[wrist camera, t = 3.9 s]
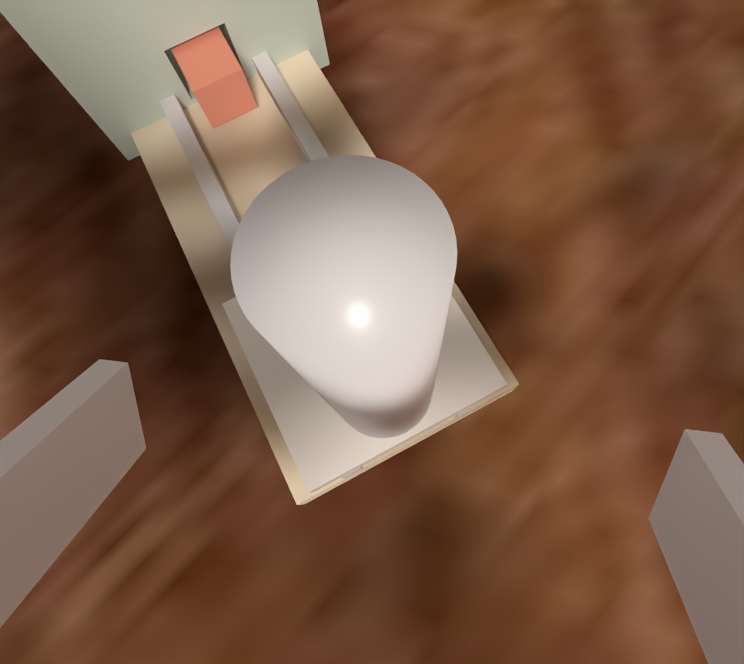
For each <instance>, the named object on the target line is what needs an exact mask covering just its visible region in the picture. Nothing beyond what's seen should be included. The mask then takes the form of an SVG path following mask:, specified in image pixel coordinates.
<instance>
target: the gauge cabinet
mask: <svg viewBox="0 0 744 664" xmlns="http://www.w3.org/2000/svg"><path fill="white" fill-rule="evenodd" d="M0 12H1V14H2V15H3V16H4V17H5V18H6V19H7V21H8V22H9V23H10V24H11V25H12V26H13V28H14V29H15V30H16V31H17V32H18V33H19V34H20V36H21V37H22V38H23V39H24V40H25V41H26V43H27V44H28V45H29V46H30V47H31V48H32V50H33V51H34V52H35V53H36V54H37V55H38V57H39V58H40V59H41V60H42V61H43V62H44V63H45V65H46V66H47V67H48V68H49V69H50V70H51V72H52V73H53V74H54V75H55V76H56V77H57V79H58V80H59V81H60V82H61V83H62V84H63V85H64V87H65V88H66V89H67V90H68V91H69V92H70V94H71V95H72V96H73V97H74V98H75V99H76V101H77V102H78V103H79V104H80V105H81V106H82V108H83V109H84V110H85V111H86V112H87V113H88V114H89V116H90V117H91V118H92V119H93V120H94V121H95V123H96V124H97V125H98V126H99V127H100V128H101V130H102V131H103V132H104V133H105V134H106V135H107V137H108V138H109V139H110V140H111V141H112V142H113V143H114V145H115V146H116V147H117V148H118V149H119V150H120V152H121V153H122V154H123V155H124V156H125V157H126V159H127V160H128V161H129V160H131V159H133V158H135V157H137V156H139V155H140V153H139V151H138V149H137V146H136V144H135V142H134V140H133V137H132V135H131V134H132V133H134V132H136V131H138V130H140V129H142V128H144V127H146V126H148V125H151V124H153V123H155V122H157V121H159V120H161V119H163V118H165V117H167V116H166V114H165V112H164V110H163V108H162V105H161V103H160V101H162V100H164V99H166V98H168V97H170V96H172V95H175V96H176V98H177V99H178V101H179V103H180V104H181V106H182V108H183V109H184V108H186V107H188V106H191V105H193V104H195V103H197V102H198V100H197V99H196V97H195V95H194V93H193V91H192V89H191V88H190V86H189V84H188V82H187V80H186V78H185V76H184V74H183V72H182V70H181V68H180V66H179V64H178V62H177V60H176V58H175V56H174V54H173V53H172V51H171V49H170V48H172V47H174V46H176V45H178V44H180V43H182V42H185V41H187V40H189V39H191V38H193V37H195V36H197V35H200V34H202V33H204V32H206V31H208V30H210V29H213V28H215V27H217V26H218V27H219V29H220V31H221V32H222V34H223V36H224V38H225V40H226V41H227V43H228V45H229V47H230V48H231V50H232V52H233V54H234V55H235V57H236V59H237V61H238V62H239V64H240V66H241V68H242V70H243V72H244V75H245V77H246V79H247V78H250V77H252V76H254V75H256V74H258V73H257V71H256V68H255V65H254V63H253V60H252V58H253V57H255V56H257V55H259V54H261V53H264V52H267V53H268V55H269V57H270V58H271V60H272V62H273V63H274V65H277V64H279V63H281V62H283V61H285V60H287V59H290V58H292V57H294V56H296V55H298V54H300V53H302V52H304V51H306V50H308V51H309V52H310V54H311V55H312V57H313V59H314V60H315V62H316V63H317V65H318V66H319V68H320V69H321V68H323V67H325V66H327V65H329V59H328V54H327V49H326V44H325V38H324V33H323V28H322V23H321V18H320V13H319V8H318V3H317V0H0Z"/></svg>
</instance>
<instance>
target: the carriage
mask: <svg viewBox="0 0 744 664" xmlns="http://www.w3.org/2000/svg"><path fill="white" fill-rule="evenodd" d="M456 265H457V243H456V236H455V232H454V227H453V224H452V222H451V219H450V217H449V214H448V212H447V210H446V208H445V207H444V205H443V203H442V201H441V200H440V199H439V198H438V196H437V195H436V194H435V192H434V191H433V190H432V189H431V188H430V187H429V186H428V185H427V184H426V183H425V182H424V181H423V180H421V179H420V178H419V177H417V176H416V175H415V174H413V173H412V172H410V171H408V170H406V169H405V168H403V167H401V166H399V165H396V164H394V163H391V162H389V161H386V160H382V159H378V158H374V157H368V156H360V155H341V156H331V157H326V158H321V159H317V160H314V161H310V162H307V163H305V164H302V165H300V166H298V167H295V168H293V169H292V170H290V171H288V172H286V173H285V174H283V175H281V176H280V177H279V178H277V179H276V180H274V181H273V182H272V183H270V184H269V185H268V186H267V187H266V188H265V189H264V190H263V191H262V192H261V193H260V194H259V195H258V196H257V197H256V198H255V200H254V201H253V202H252V203H251V205H250V206H249V208H248V209H247V211H246V212H245V214H244V216H243V218H242V220H241V222H240V224H239V226H238V228H237V231H236V234H235V237H234V240H233V245H232V250H231V262H230V269H231V280H232V284H233V289H234V293H235V295H236V297H235V298H233V299H231V300H229V301H227V302H225V303H223V304H222V305H223V307H224V309H225V312H226V314H227V316H228V318H229V320H230V322H231V325H232V327H233V329H234V331H235V333H236V336H237V338H238V340H239V342H240V344H241V346H242V349H243V351H244V353H245V355H246V357H247V360H248V362H249V364H250V366H251V368H252V370H253V373H254V375H255V377H256V379H257V381H258V384H259V386H260V388H261V390H262V392H263V394H264V397H265V399H266V401H267V403H268V405H269V408H270V410H271V412H272V414H273V416H274V418H275V421H276V423H277V425H278V427H279V429H280V432H281V434H282V436H283V438H284V440H285V442H286V445H287V447H288V449H289V451H290V453H291V456H292V458H293V460H294V462H295V464H296V467H297V469H298V471H299V473H300V475H301V477H302V480H303V482H304V484H305V486H306V488H307V491H308V493H309V492H316V491H317V490H319V489H321V488H323V487H325V486H327V485H328V484H330V483H332V482H334V481H336V480H338V479H339V478H341V477H343V476H345V475H347V474H349V473H350V472H352V471H354V470H356V469H358V468H360V467H361V466H363V465H365V464H367V463H369V462H371V461H373V460H374V459H376V458H378V457H380V456H382V455H384V454H385V453H387V452H389V451H391V450H393V449H395V448H396V447H398V446H400V445H402V444H404V443H406V442H407V441H409V440H411V439H413V438H415V437H417V436H418V435H420V434H422V433H424V432H426V431H428V430H429V429H431V428H433V427H435V426H437V425H439V424H440V423H442V422H444V421H446V420H448V419H450V418H452V417H453V416H455V415H457V414H459V413H461V412H463V411H464V410H466V409H468V408H470V407H472V406H474V405H475V404H477V403H479V402H481V401H483V400H485V399H486V398H488V397H490V396H492V395H494V394H496V393H497V392H499V391H501V390H503V389H504V388H505V386H506V385H507V383H506V381H505V380H504V378H503V376H502V375H501V373H500V372H499V370H498V368H497V367H496V365H495V364H494V362H493V360H492V359H491V357H490V356H489V354H488V352H487V351H486V349H485V348H484V346H483V344H482V343H481V341H480V340H479V338H478V336H477V335H476V333H475V332H474V330H473V328H472V327H471V325H470V324H469V322H468V320H467V319H466V317H465V315H464V314H463V312H462V311H461V309H460V307H459V306H458V304H457V303H456V301H455V299H454V298H453V296H452V295H451V293H452V287H453V282H454V277H455V271H456Z"/></svg>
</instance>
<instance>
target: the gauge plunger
mask: <svg viewBox="0 0 744 664" xmlns="http://www.w3.org/2000/svg"><path fill="white" fill-rule="evenodd" d="M170 49H171V51H172V53H173V54H174V56H175V58H176V60H177V62H178V64H179V66H180V68H181V70H182V72H183V74H184V76H185V78H186V80H187V82H188V84H189V86H190V88H191V89H192V91H193V93H194V95H195V97H196V99H197V100H198V102H199V104H200V106H201V108H202V110H203V111H204V113H205V115H206V117H207V119H208V120H209V122H210V124H211V126H212V128H216V127H218V126H220V125H222V124H224V123H226V122H228V121H230V120H232V119H234V118H236V117H238V116H241V115H243V114H245V113H247V112H249V111H251V110H253V109H255V108H257V104H256V102H255V99H254V97H253V94H252V92H251V90H250V87H249V85H248V82H247V80H246V77H245V75H244V72H243V70H242V68H241V66H240V64H239V62H238V61H237V59H236V57H235V55H234V54H233V52H232V50H231V48H230V47H229V45H228V43H227V41H226V40H225V38H224V36H223V34H222V32H221V31H220V29H219V27H218V26H217V27H215V28H213V29H210V30H208V31H206V32H204V33H202V34H200V35H197V36H195V37H193V38H191V39H189V40H187V41H185V42H182V43H180V44H178V45H176V46H174V47H172V48H170Z"/></svg>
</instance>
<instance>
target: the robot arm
mask: <svg viewBox="0 0 744 664" xmlns="http://www.w3.org/2000/svg"><path fill="white" fill-rule="evenodd" d="M145 449H146V445H145V440H144V435H143V431H142V426H141V421H140V417H139V412H138V407H137V403H136V398H135V393H134V389H133V384H132V379H131V375H130V370H129V365H128V363H127V362H119V361H110V360H102V359H99V360H98V361H97V362H95V363H94V364H93V365H92V366H91V367H89V368H88V369H87V370H86V371H84V372H83V373H82V374H81V375H80V376H78V377H77V378H76V379H75V380H74V381H72V382H71V383H70V384H69V385H67V386H66V387H65V388H64V389H63V390H61V391H60V392H59V393H58V394H57V395H55V396H54V397H53V398H52V399H50V400H49V401H48V402H47V403H46V404H44V405H43V406H42V407H41V408H39V409H38V410H37V411H36V412H35V413H33V414H32V415H31V416H30V417H29V418H27V419H26V420H25V421H24V422H22V423H21V424H20V425H19V426H18V427H16V428H15V429H14V430H13V431H12V432H10V433H9V434H8V435H7V436H5V437H4V438H3V439H2V440H1V441H0V628H1V627H2V625H3V624H4V623H5V622H6V620H7V619H8V618H9V617H10V615H11V614H12V613H13V612H14V611H15V609H16V608H17V607H18V606H19V604H20V603H21V602H22V601H23V599H24V598H25V597H26V596H27V595H28V593H29V592H30V591H31V590H32V588H33V587H34V586H35V585H36V583H37V582H38V581H39V580H40V579H41V577H42V576H43V575H44V574H45V572H46V571H47V570H48V569H49V567H50V566H51V565H52V564H53V563H54V561H55V560H56V559H57V558H58V556H59V555H60V554H61V553H62V552H63V550H64V549H65V548H66V547H67V545H68V544H69V543H70V542H71V540H72V539H73V538H74V537H75V536H76V534H77V533H78V532H79V531H80V529H81V528H82V527H83V526H84V524H85V523H86V522H87V521H88V520H89V518H90V517H91V516H92V515H93V513H94V512H95V511H96V510H97V508H98V507H99V506H100V505H101V504H102V502H103V501H104V500H105V499H106V497H107V496H108V495H109V494H110V493H111V491H112V490H113V489H114V488H115V486H116V485H117V484H118V483H119V481H120V480H121V479H122V478H123V477H124V475H125V474H126V473H127V472H128V470H129V469H130V468H131V467H132V465H133V464H134V463H135V462H136V461H137V459H138V458H139V457H140V456H141V454H142V453H143V452H144V451H145ZM648 519H649V521H650V523H651V526H652V528H653V531H654V533H655V536H656V538H657V540H658V543H659V545H660V548H661V550H662V553H663V555H664V557H665V560H666V562H667V565H668V567H669V570H670V572H671V574H672V577H673V579H674V582H675V584H676V587H677V589H678V591H679V594H680V596H681V599H682V601H683V604H684V606H685V608H686V611H687V613H688V616H689V618H690V621H691V623H692V626H693V628H694V630H695V633H696V635H697V638H698V640H699V643H700V645H701V647H702V650H703V652H704V655H705V657H706V660H707V662H708V664H744V464H743V463H742V461H741V460H740V458H739V457H738V456H737V454H736V453H735V451H734V450H733V448H732V447H731V446H730V444H729V443H728V441H727V440H726V439H725V437H724V436H723V434H721V433H713V432H705V431H696V430H688V429H685V430H684V433H683V435H682V437H681V440H680V442H679V445H678V447H677V450H676V452H675V455H674V457H673V460H672V462H671V464H670V467H669V469H668V472H667V474H666V477H665V479H664V482H663V484H662V487H661V489H660V491H659V494H658V496H657V499H656V501H655V504H654V506H653V509H652V511H651V514H650V516H649V518H648Z"/></svg>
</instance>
